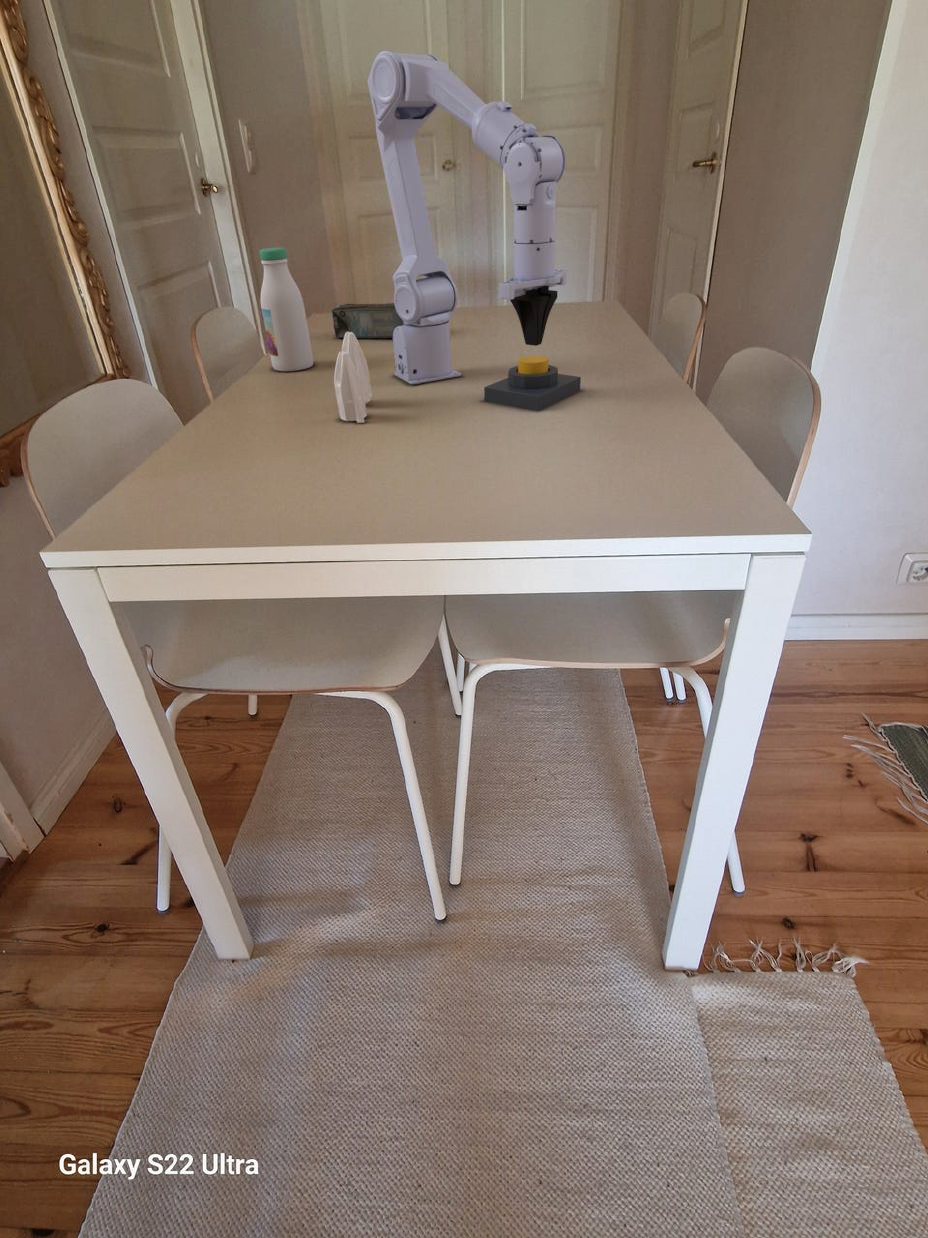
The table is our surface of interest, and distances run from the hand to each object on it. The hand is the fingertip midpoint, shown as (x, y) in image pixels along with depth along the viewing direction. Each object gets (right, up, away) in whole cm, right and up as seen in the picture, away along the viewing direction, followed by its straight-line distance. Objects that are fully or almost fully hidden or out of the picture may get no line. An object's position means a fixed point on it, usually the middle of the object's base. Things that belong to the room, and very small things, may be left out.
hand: (533, 344), depth 103 cm
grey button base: (0, -6, +4) cm, 8 cm away
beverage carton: (-29, +21, +48) cm, 59 cm away
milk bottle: (-43, +6, +28) cm, 51 cm away
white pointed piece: (-27, -10, +2) cm, 29 cm away
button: (0, -3, +2) cm, 4 cm away
